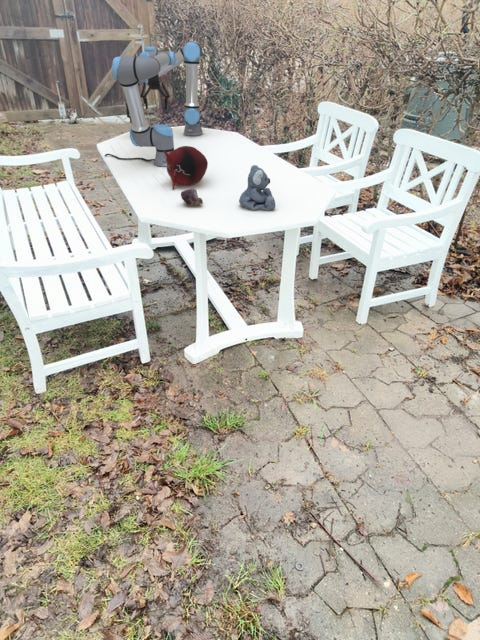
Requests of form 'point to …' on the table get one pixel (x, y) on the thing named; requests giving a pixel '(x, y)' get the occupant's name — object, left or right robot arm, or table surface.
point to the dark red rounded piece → (186, 165)
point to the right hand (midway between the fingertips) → (137, 127)
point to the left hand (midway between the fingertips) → (156, 109)
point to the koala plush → (257, 191)
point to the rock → (191, 197)
